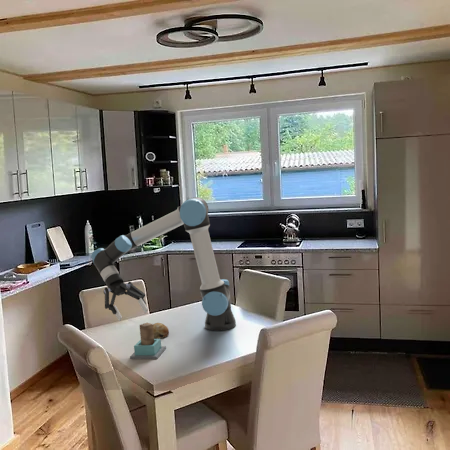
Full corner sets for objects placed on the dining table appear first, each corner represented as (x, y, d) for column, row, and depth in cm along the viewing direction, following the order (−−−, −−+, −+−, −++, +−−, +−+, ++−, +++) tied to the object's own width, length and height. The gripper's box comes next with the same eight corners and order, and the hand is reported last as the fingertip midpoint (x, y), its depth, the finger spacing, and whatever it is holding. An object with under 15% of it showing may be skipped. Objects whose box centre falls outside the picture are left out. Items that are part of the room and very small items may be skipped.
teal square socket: (166, 348, 228) (165, 337, 228) (157, 358, 217) (156, 347, 216) (140, 348, 231) (139, 337, 230) (130, 358, 219) (129, 347, 219)
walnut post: (149, 349, 226) (147, 322, 225) (155, 351, 223) (152, 324, 222) (142, 352, 223) (139, 325, 222) (147, 353, 220) (145, 326, 219)
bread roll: (151, 347, 243) (152, 334, 239) (143, 333, 250) (144, 320, 246) (170, 342, 247) (172, 329, 243) (163, 328, 255) (164, 316, 251)
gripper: (132, 277, 248) (153, 312, 238) (85, 288, 230) (106, 327, 221) (137, 267, 243) (159, 303, 234) (89, 278, 226) (111, 317, 217)
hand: (133, 315), depth 228 cm, fingers open, 13 cm apart
